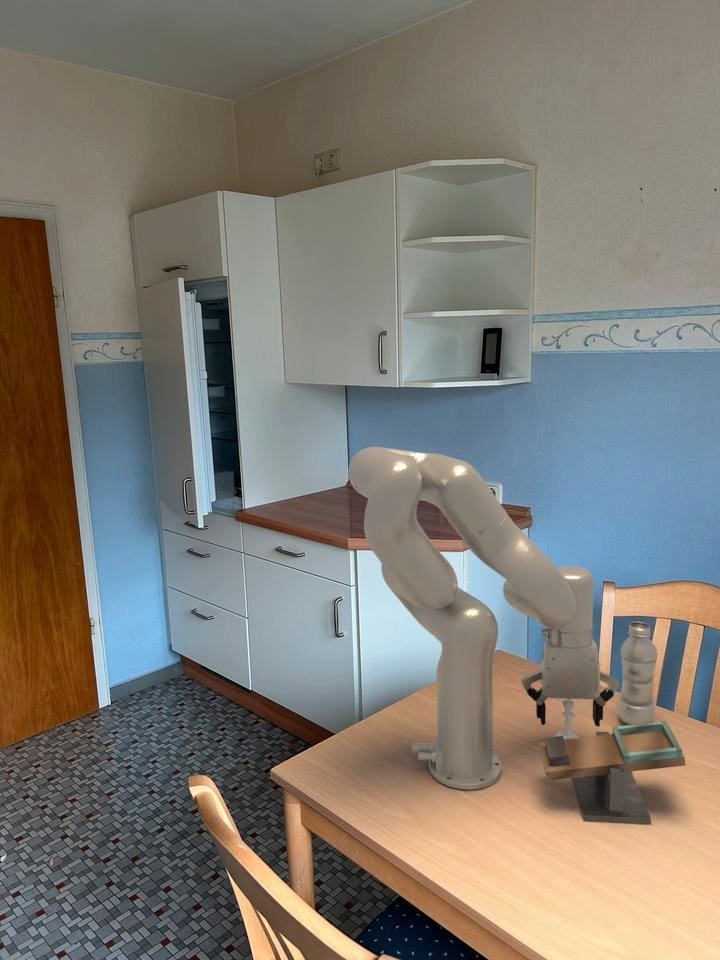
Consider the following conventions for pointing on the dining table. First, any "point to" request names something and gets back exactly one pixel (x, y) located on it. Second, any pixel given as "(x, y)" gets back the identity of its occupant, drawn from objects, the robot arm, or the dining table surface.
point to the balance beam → (612, 751)
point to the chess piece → (568, 720)
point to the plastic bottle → (637, 676)
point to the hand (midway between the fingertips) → (569, 721)
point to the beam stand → (611, 797)
